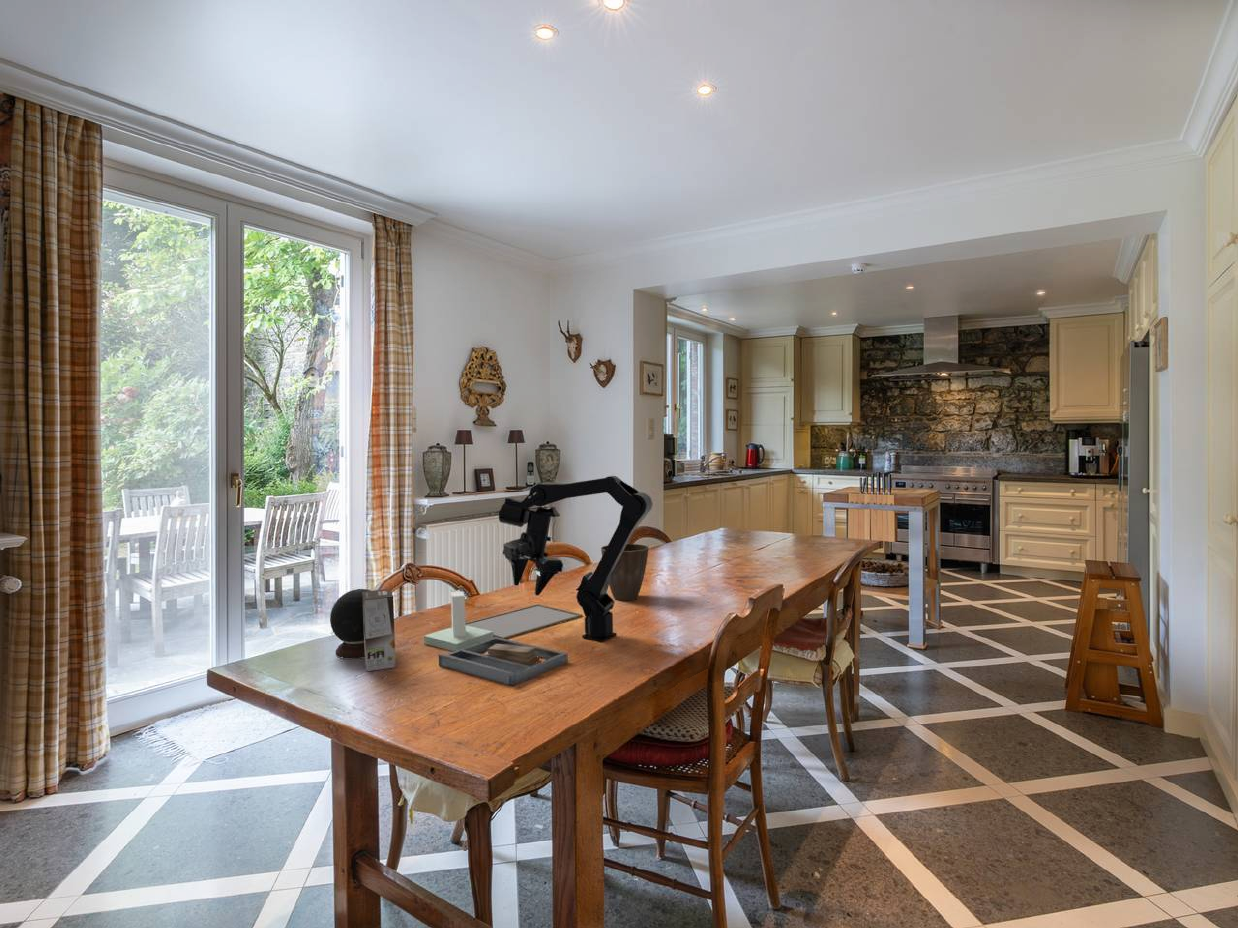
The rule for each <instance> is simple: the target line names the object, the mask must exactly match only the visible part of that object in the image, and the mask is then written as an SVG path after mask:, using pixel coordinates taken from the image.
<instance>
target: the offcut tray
mask: <svg viewBox="0 0 1238 928" xmlns="http://www.w3.org/2000/svg"><path fill="white" fill-rule="evenodd" d="M495 644H505V645H516V646H526V647H535V653H536V656H538V657H539V658H541V657H542V659H545V658H546V659H545V660H543V661H541V662H540V661H539V662H537V663H536V664H535V665H533V666H527V665H523V664H519V663H515V662H511V661H507V660H503V659H499V658H495V657H491V656H487V655H483V654H484V653H482V652H487V651H488V648H490V647H492V646H493V645H495ZM568 654H569V653H567V652H563V651H560V650H555V649H550V648H546V647H543V646H542V647H541V646H537V645H532V644H529V643H524V642H521V641H520V642H519V641H515V640H511V639H502V638H498V637H494V638H491V639H489V640H486V641H483V642H480V643H477V644H474V645H471V646H468V647H465V648H462V649H460V650H457V651H452V652H449V653H439V654H438V666H439V667H441V668H442V667H443V668H447V669H449V670H453V671H457V672H461V673H464V674H467V675H468V674H469V675H472V676H475V677H478V678H482V679H485V680H489V681H492V682H495V683H496V682H497V683H499V684H503V685H506V686H511V687H514V686H516V685H518V684H521V683H523V682H525V680H526V681H528V680H531V679H532V678H534V677H537V676H540V675H541V674H544V673H547V672H548V671H551V670H553V669H555V668H557V666H558V667H560V666H562V665H564V663H565V664H567V663H568V662H569V661H568V660H569V656H568ZM536 656H535V657H536ZM566 662H567V663H566ZM527 679H528V680H527Z"/></svg>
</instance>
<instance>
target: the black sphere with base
mask: <svg viewBox="0 0 1238 928" xmlns="http://www.w3.org/2000/svg"><path fill="white" fill-rule="evenodd" d="M367 591H372V590H370V589H365V588H358V589H357V588H356V589H353V590H350V591H347V592H345V593H344V594H342V595H341V596H339V598H338V599H337V600H336V601H335V602H334V604H333V606H332V608H331V611H330V616H329V622H330V627H331V630H332V633H334V635H335V636H336V637H337V638H338V639H339V640H340V641H342V643H340V644H339V645H338V647H337V648H336V650H335V656H336V655H337V656H339V657H343V658H342V659H345V658H357V659H363V658H362V657H365V649H364V625H363V592H367ZM337 656H336V657H337ZM339 657H338V658H339Z"/></svg>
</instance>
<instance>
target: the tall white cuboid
mask: <svg viewBox="0 0 1238 928" xmlns="http://www.w3.org/2000/svg"><path fill="white" fill-rule="evenodd" d="M450 603H451V604H450V605H451V606H450V607H451V609H450V611H451V627H452V633H453V637H459V636H466V596H465V593H464V591H451V592H450Z"/></svg>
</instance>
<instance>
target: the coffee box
mask: <svg viewBox="0 0 1238 928" xmlns="http://www.w3.org/2000/svg"><path fill="white" fill-rule="evenodd" d="M394 607H395V605H394V595H393V592H392V590H391V588H385V589H376V590H375V589H374V590H371V591H367V592H363V625H364V649H365V658H364V662H365V663H364V664H365V670H366V672H372V671H373V672H374V671H379V670H387V669H394V668H396V643H395V641H396V640H395V639H396V637H395V608H394Z"/></svg>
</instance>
